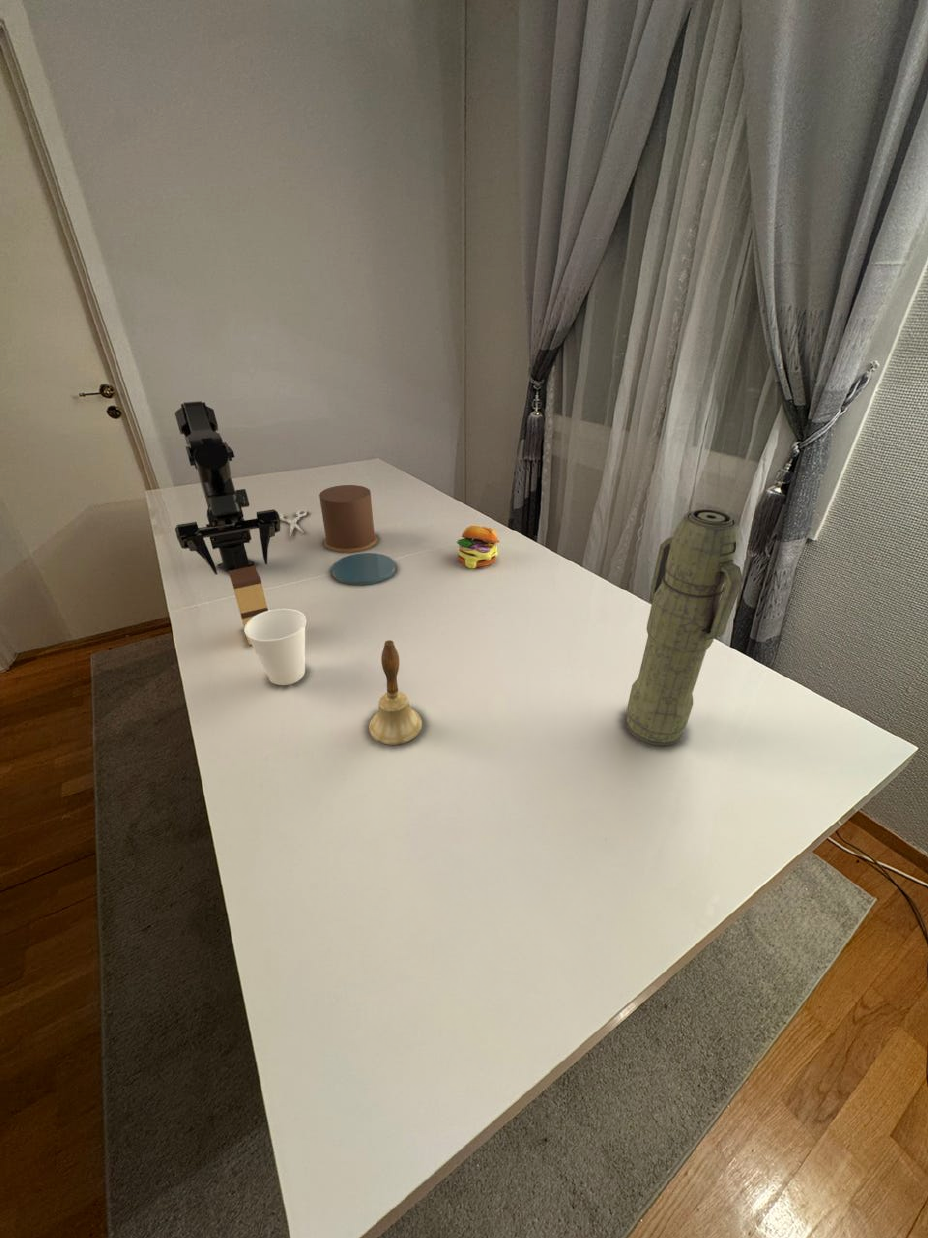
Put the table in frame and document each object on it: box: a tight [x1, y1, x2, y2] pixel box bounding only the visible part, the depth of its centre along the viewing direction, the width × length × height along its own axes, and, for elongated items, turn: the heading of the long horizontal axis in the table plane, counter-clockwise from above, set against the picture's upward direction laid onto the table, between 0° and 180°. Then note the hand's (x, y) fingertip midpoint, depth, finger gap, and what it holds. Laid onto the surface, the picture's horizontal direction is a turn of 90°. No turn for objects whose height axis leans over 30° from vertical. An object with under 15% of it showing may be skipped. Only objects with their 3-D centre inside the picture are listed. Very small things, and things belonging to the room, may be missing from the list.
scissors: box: [278, 509, 308, 537], centre depth 149 cm, size 11×1×20 cm
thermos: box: [624, 508, 744, 747], centre depth 72 cm, size 9×12×35 cm
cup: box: [243, 608, 307, 686], centre depth 89 cm, size 10×10×11 cm
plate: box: [331, 552, 396, 586], centre depth 126 cm, size 15×15×1 cm
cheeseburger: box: [456, 525, 500, 569], centre depth 129 cm, size 10×11×10 cm
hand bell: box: [368, 640, 423, 746], centre depth 77 cm, size 8×8×16 cm
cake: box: [318, 484, 378, 553], centre depth 137 cm, size 14×14×13 cm
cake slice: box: [228, 565, 269, 646], centre depth 99 cm, size 6×5×13 cm
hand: (241, 568), depth 101 cm, fingers open, 9 cm apart
